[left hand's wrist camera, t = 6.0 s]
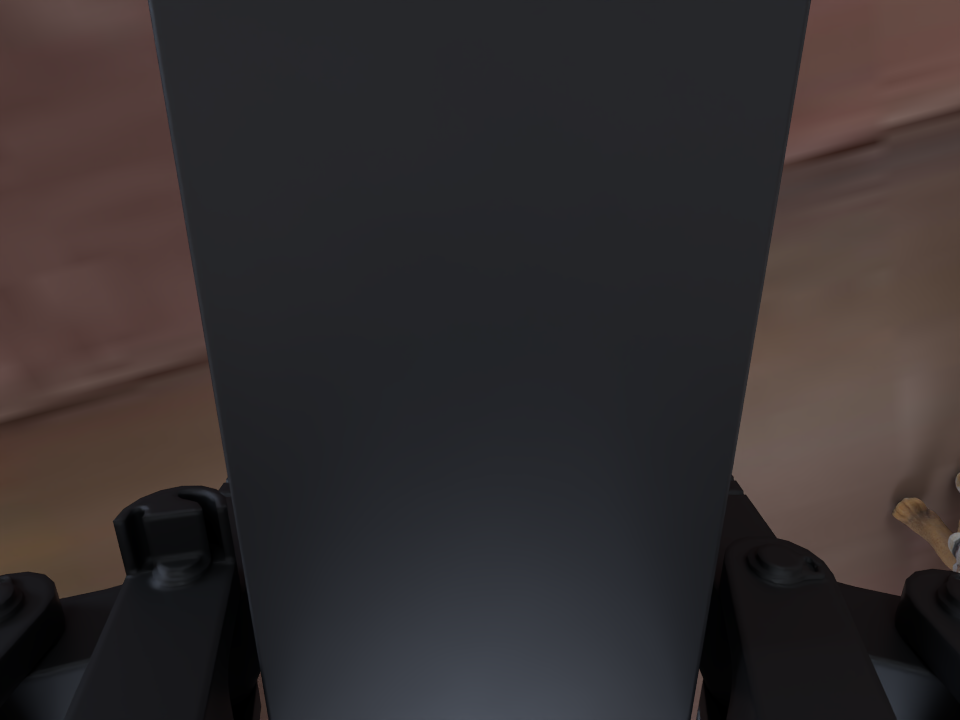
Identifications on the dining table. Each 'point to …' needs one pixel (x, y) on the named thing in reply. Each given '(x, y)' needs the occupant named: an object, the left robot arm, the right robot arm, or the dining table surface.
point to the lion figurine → (931, 529)
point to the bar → (479, 333)
